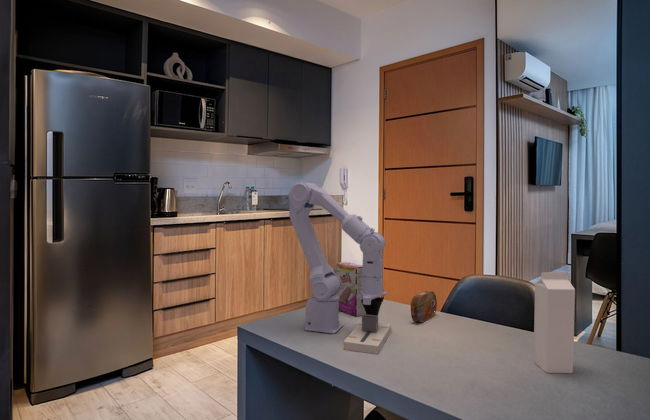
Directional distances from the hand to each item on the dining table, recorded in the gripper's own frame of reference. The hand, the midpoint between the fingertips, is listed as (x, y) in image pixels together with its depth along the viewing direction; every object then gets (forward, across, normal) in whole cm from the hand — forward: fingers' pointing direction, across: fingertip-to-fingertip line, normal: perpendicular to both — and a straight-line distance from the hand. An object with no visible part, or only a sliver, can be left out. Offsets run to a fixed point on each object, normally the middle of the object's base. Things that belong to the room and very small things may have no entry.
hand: (372, 323), depth 115 cm
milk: (+3, -7, -44) cm, 45 cm away
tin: (+3, +21, -12) cm, 24 cm away
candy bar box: (+3, +20, +12) cm, 23 cm away
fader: (+1, -3, 0) cm, 3 cm away
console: (+3, -4, 0) cm, 5 cm away
